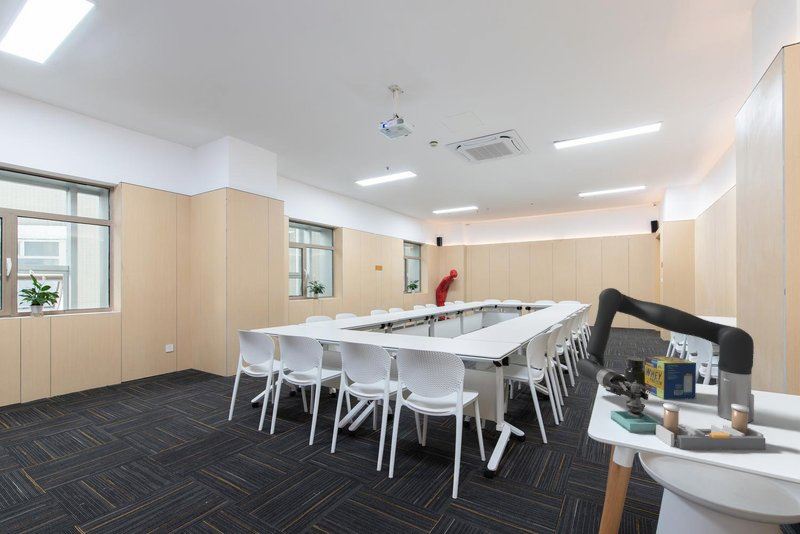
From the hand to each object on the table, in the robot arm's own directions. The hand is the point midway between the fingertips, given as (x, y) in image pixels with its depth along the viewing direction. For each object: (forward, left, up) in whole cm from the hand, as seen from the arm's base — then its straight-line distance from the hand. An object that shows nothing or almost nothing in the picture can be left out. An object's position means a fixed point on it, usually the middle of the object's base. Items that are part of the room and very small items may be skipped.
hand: (640, 397), depth 125 cm
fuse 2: (-27, +8, -11) cm, 30 cm away
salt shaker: (0, -3, -7) cm, 8 cm away
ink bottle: (-30, -48, -11) cm, 58 cm away
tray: (0, -3, -11) cm, 11 cm away
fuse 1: (-5, +8, -11) cm, 14 cm away
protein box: (-36, -34, -11) cm, 51 cm away
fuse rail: (-16, +8, -11) cm, 21 cm away
